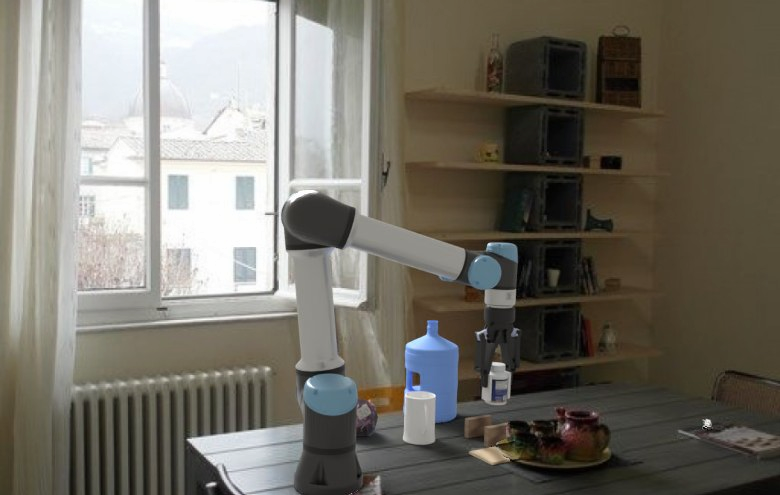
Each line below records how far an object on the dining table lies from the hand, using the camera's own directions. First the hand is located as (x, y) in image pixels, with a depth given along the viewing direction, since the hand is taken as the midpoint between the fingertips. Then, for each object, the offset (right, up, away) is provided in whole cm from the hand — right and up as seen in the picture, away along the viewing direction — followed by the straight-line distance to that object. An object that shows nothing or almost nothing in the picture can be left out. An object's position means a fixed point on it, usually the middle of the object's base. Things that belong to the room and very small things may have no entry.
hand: (495, 398), depth 189 cm
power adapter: (+63, -15, +29) cm, 71 cm away
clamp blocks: (0, -14, +14) cm, 19 cm away
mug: (-18, -14, +10) cm, 25 cm away
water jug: (-15, -12, +34) cm, 39 cm away
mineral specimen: (-35, -13, +15) cm, 40 cm away
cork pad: (0, -15, +1) cm, 15 cm away
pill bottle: (0, -1, 0) cm, 1 cm away
